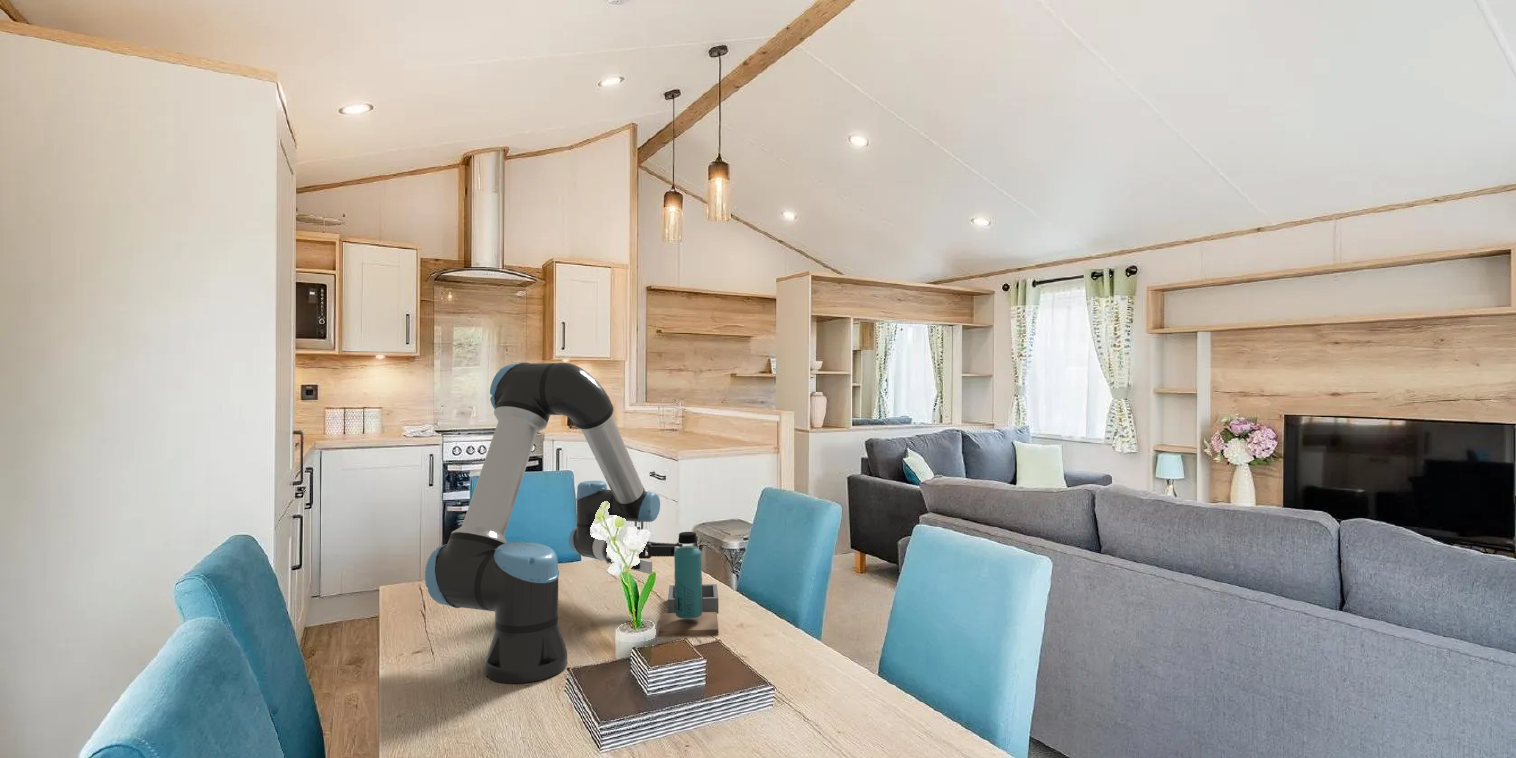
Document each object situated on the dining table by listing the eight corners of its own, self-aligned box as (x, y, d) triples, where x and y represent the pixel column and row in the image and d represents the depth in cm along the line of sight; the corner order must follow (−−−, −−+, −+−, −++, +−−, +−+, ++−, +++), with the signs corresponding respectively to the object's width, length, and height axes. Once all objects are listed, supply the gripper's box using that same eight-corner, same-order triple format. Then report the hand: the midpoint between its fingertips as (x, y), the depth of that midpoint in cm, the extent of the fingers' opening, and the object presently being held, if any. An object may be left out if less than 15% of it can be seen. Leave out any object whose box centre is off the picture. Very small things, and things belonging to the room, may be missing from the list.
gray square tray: (667, 614, 173) (667, 599, 173) (669, 599, 185) (669, 585, 185) (718, 612, 174) (718, 598, 174) (716, 597, 186) (716, 584, 186)
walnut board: (658, 636, 158) (658, 631, 158) (660, 618, 170) (660, 613, 170) (718, 634, 160) (718, 629, 160) (716, 616, 171) (716, 611, 171)
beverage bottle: (709, 619, 166) (708, 531, 166) (691, 627, 160) (690, 536, 160) (686, 614, 170) (685, 528, 169) (668, 622, 164) (667, 533, 164)
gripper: (653, 553, 192) (711, 567, 178) (573, 573, 173) (631, 590, 159) (653, 525, 192) (711, 536, 178) (573, 541, 173) (631, 555, 159)
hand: (673, 561), depth 169 cm, fingers open, 13 cm apart
